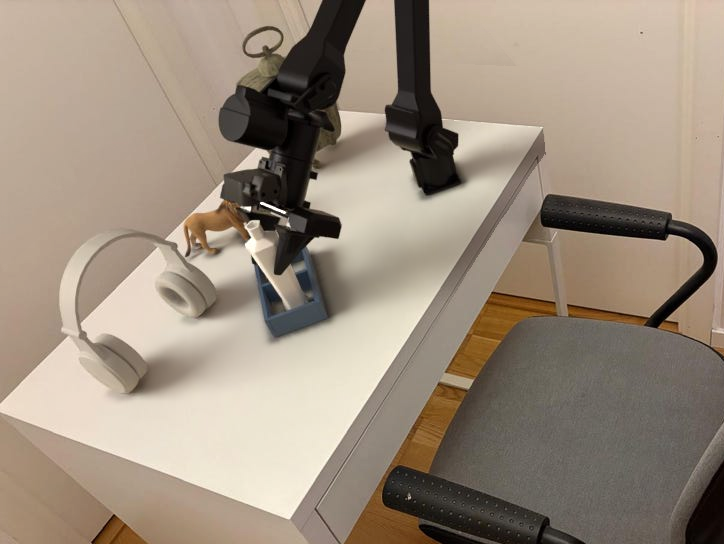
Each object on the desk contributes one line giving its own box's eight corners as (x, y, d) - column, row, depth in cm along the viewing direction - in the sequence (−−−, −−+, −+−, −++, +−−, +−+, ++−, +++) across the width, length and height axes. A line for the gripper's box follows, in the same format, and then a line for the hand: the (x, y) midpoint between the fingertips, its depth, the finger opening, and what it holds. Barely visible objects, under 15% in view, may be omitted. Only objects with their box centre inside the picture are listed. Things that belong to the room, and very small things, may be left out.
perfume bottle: (283, 296, 111) (237, 218, 100) (310, 290, 110) (268, 211, 99) (280, 318, 108) (233, 240, 97) (309, 311, 107) (264, 232, 96)
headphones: (189, 292, 117) (123, 193, 103) (228, 303, 113) (165, 203, 99) (98, 387, 107) (10, 291, 92) (138, 402, 103) (53, 306, 89)
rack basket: (310, 254, 118) (302, 237, 115) (328, 318, 107) (319, 301, 105) (261, 272, 117) (252, 255, 115) (274, 338, 107) (264, 321, 104)
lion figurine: (265, 215, 127) (243, 172, 120) (273, 232, 124) (251, 187, 117) (183, 251, 124) (156, 209, 118) (189, 269, 121) (162, 226, 114)
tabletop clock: (339, 136, 139) (289, 3, 121) (358, 156, 134) (309, 20, 115) (269, 170, 136) (207, 38, 118) (286, 192, 130) (223, 57, 112)
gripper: (198, 129, 97) (174, 244, 100) (291, 162, 87) (262, 288, 91) (265, 146, 106) (242, 251, 110) (357, 178, 97) (328, 292, 100)
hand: (266, 269), depth 102 cm, fingers closed on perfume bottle, 4 cm apart
